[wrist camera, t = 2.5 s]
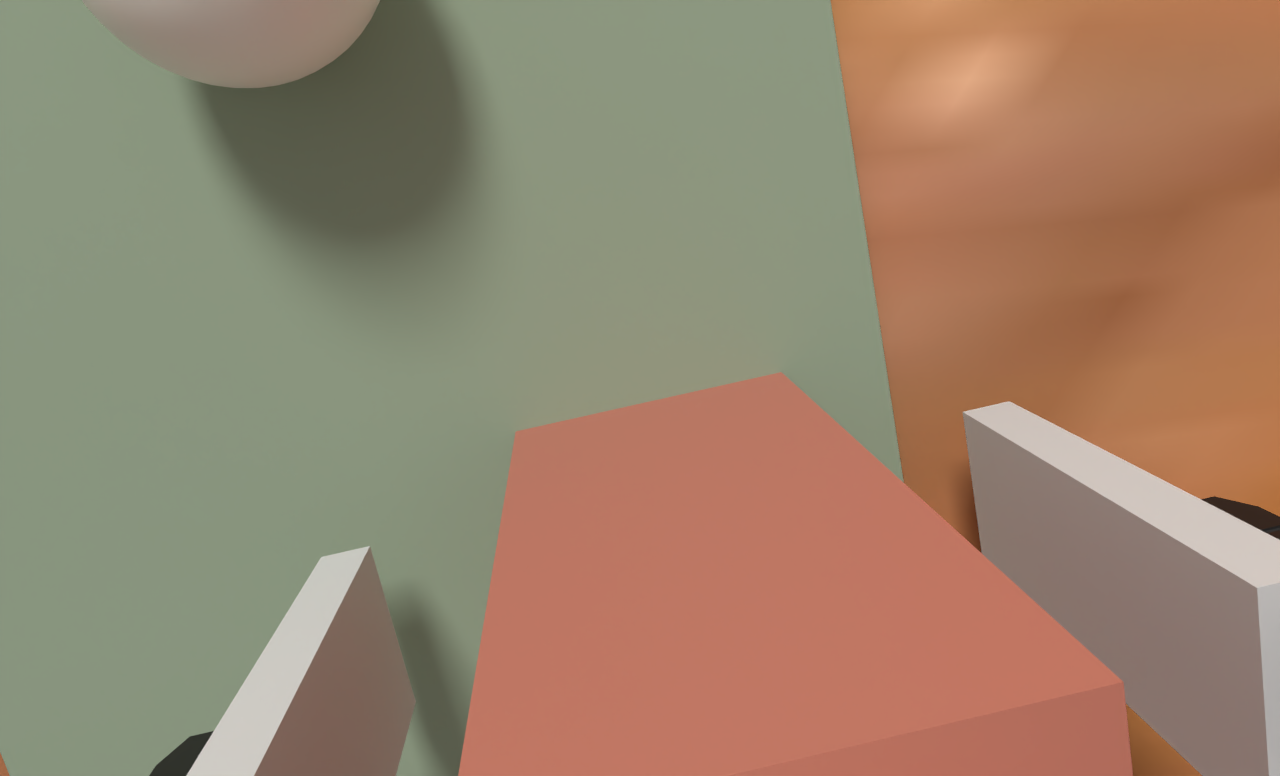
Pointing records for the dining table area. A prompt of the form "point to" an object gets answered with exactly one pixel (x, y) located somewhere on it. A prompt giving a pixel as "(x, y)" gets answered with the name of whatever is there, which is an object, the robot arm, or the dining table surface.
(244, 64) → the ball
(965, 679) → the red tall block
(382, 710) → the robot arm
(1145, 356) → the dining table surface
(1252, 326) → the dining table surface
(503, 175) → the felt mat
